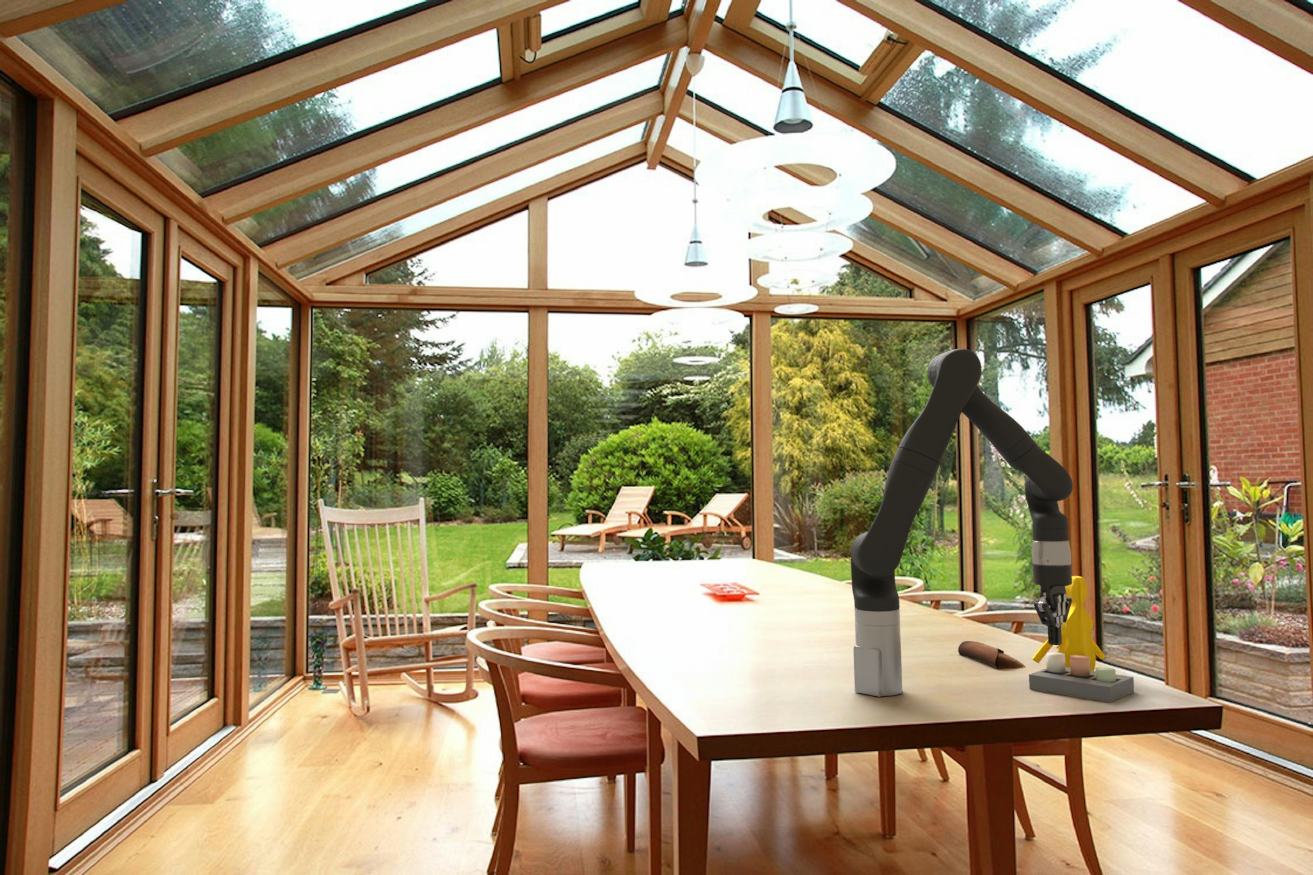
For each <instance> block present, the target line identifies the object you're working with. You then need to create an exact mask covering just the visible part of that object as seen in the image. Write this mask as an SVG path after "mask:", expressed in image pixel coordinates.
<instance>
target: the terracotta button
mask: <svg viewBox="0 0 1313 875" xmlns="http://www.w3.org/2000/svg"><path fill="white" fill-rule="evenodd" d="M1070 666H1071V674H1072V675H1076V676H1090V660H1089V657H1087V656H1081V655H1073V656H1070Z"/></svg>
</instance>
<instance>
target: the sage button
mask: <svg viewBox="0 0 1313 875" xmlns="http://www.w3.org/2000/svg"><path fill="white" fill-rule="evenodd" d="M1094 670H1095V671H1096V681H1103V682H1109V683H1114V682H1116V669H1115V668H1113V667H1108V666H1107V667H1105V666H1102V667H1101V666H1098V667H1095V669H1094Z"/></svg>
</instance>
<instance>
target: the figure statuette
mask: <svg viewBox="0 0 1313 875" xmlns="http://www.w3.org/2000/svg"><path fill="white" fill-rule="evenodd" d="M1065 589H1066V596H1067V597H1068V598H1072V603H1071V607H1070V610H1069V614H1068V618H1067V621H1066V623H1064V622H1063V626H1062V627H1061V636H1062V644H1060V645H1057V647H1058V649H1057V652H1059V653H1064V654H1065V667H1068V668H1071V666H1070V656H1073V655H1081V656H1087V657H1089V660H1090V671H1095V670H1096V669H1095V668H1096V662H1097V661H1096V656H1097V657H1098V658H1099V659H1100V660H1104V658H1105V657H1106V655H1105V654H1104V652H1102V650H1101V649H1100V647H1099V646H1098V645H1097V643H1096V642H1095V640H1094V639H1093V638H1092V633H1093V629H1094V628H1093V627H1094V621H1093V618H1092V617H1091V615H1090V614H1089V613H1088V611H1087V609H1086V608H1085V605H1084V603H1085V602H1086V598H1087V595H1088V586H1087V583H1086V580H1085V578H1084V576H1078V575H1072V584H1071V585H1069V586H1065ZM1052 647H1054V645H1050V644H1049V643H1048V638H1047V640H1046V641H1044V643H1043V644H1042V645H1041V646H1040V648H1039V649H1038V650H1037V651H1036V653H1035V654H1034V655H1033V657H1032V658H1031V660H1032V661H1033V662H1035V663H1038V664H1040V662H1041V661H1042V660H1043V658H1044V657H1046V653H1048V652H1049V651H1050V650H1051V649H1052Z"/></svg>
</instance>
